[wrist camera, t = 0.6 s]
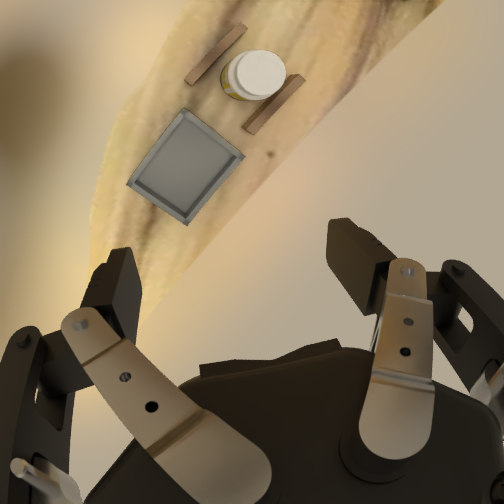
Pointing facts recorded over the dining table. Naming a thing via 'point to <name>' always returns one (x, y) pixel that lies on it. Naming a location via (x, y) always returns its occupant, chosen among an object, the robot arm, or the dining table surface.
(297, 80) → the slot rails
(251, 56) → the supplement bottle
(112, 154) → the dining table surface
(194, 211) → the tray
